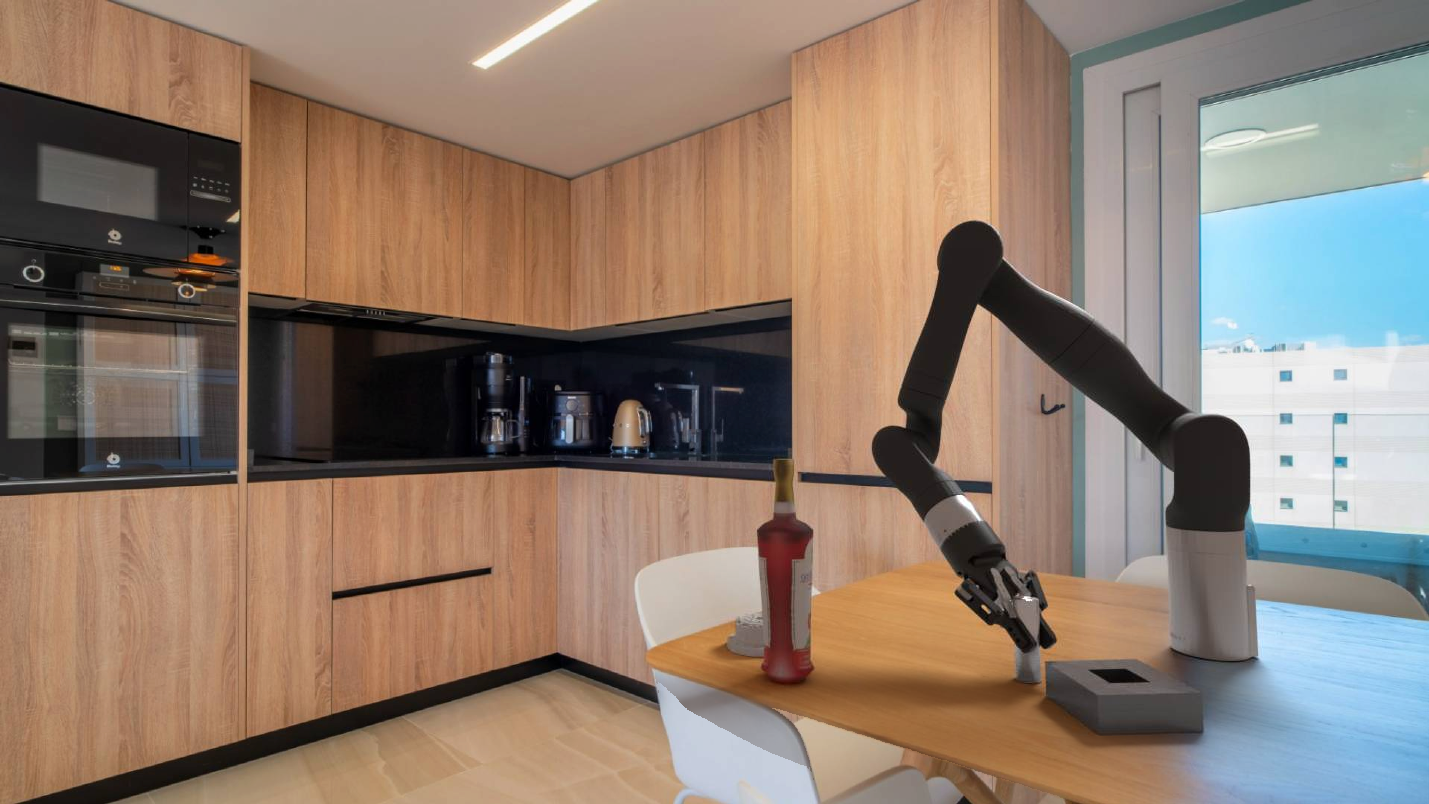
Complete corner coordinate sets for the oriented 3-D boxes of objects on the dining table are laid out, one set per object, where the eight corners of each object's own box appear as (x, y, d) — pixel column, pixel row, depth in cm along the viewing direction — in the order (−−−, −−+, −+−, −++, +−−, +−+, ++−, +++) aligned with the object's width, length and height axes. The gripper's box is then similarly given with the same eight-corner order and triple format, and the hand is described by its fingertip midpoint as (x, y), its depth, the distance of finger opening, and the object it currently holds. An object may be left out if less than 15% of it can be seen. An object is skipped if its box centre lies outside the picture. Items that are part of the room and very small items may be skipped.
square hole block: (1137, 693, 85) (1136, 658, 85) (1203, 731, 74) (1201, 692, 74) (1046, 695, 84) (1044, 661, 85) (1098, 734, 73) (1097, 695, 74)
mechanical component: (721, 657, 102) (791, 660, 100) (720, 626, 102) (791, 628, 100) (733, 637, 111) (797, 640, 109) (733, 608, 111) (797, 611, 109)
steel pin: (1034, 674, 92) (1031, 595, 92) (1045, 683, 89) (1043, 601, 89) (1011, 675, 91) (1008, 596, 92) (1022, 683, 88) (1019, 601, 89)
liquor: (768, 665, 97) (764, 458, 98) (821, 671, 94) (817, 458, 95) (751, 683, 90) (748, 460, 91) (808, 690, 87) (804, 460, 89)
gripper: (938, 522, 94) (1018, 639, 83) (1013, 515, 101) (1097, 623, 89) (911, 557, 99) (984, 672, 87) (985, 548, 105) (1061, 655, 94)
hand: (1041, 647), depth 88 cm, fingers closed on steel pin, 3 cm apart
